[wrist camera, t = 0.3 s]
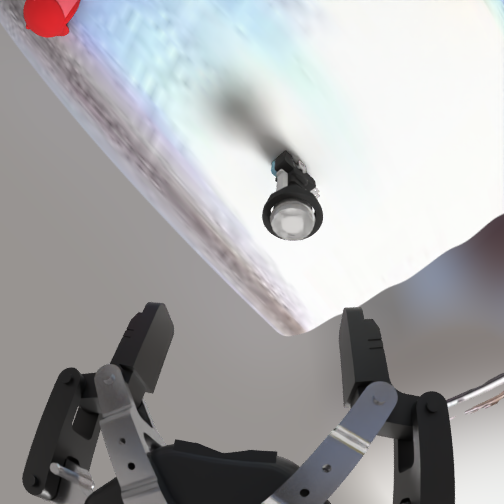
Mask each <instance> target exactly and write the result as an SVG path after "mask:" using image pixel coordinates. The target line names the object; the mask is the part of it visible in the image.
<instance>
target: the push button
mask: <svg viewBox="0 0 504 504" xmlns="http://www.w3.org/2000/svg"><path fill="white" fill-rule="evenodd" d="M298 163H299V166H298V165H297V164H296V163H295V162H294V161H293V160H292V156H291V155H290V154H289V153H288V152H287V151H284V152H283V153H282V154H281V155H280V156H279V157H278V158H276V159H275V160H274V161H273V162H272V168H271V172H272V174H273V175H274V176H276V180H275V181H276V182H277V189H276V192H274V193H273V194H271V195H270V197H269V199H268V201H267V202H266V204H265V206H264V208H263V214H262V218H263V223H264V225H265V227H266V228H267V230H268V231H269V232H270V233H271V234H273V235H274V236H276V237H278V238H281V239H284V240H290V241H296V240H302V239H305V238H308V237H310V236H312V235H313V234H314V233H316V232H317V231H318V229H319V228H320V226H321V224H322V221H323V212H322V208H321V206H320V204H319V202H318V200H317V198H318V197H320V195H319V194H318V193H319V190H318V189H317V188H316V185H315V181H314V179H313V178H312V177H310V176H309V175H308V174H307V173H306V166H305V165H304V164H303V163H302V162H301V161H300V160H298ZM301 164H302V165H303V166H302V165H301ZM315 190H316V191H315ZM316 194H317V195H316ZM314 195H316V196H314ZM273 206H274V208H273V211H272V213H271V211H270V210H271V208H272V207H273ZM312 207H313V208H314V210H315V212H314V213H313V211H312Z"/></svg>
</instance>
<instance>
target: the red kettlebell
mask: <svg viewBox="0 0 504 504" xmlns="http://www.w3.org/2000/svg"><path fill="white" fill-rule="evenodd" d="M79 3H80V0H26V2H25V5H24V19H25V21H26V29H31V30H32V31H33V32H34V33H36V34H37V35H39V36H42V37H54V36H65V35H67V34H68V33H69V29H68V27H67V26H66V24H67V23H68V22H69V21H70V20H71V18H72V17H73V16H74V14H75V12H76V11H77V9H78V7H79Z"/></svg>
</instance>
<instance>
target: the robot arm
mask: <svg viewBox="0 0 504 504" xmlns="http://www.w3.org/2000/svg"><path fill="white" fill-rule="evenodd" d="M173 335H174V326H173V323H172V320H171V318H170V316H169V313H168V311H167V308H166V306H165V304H163V303H153V302H148V303H147V304H146V306H145V308H144V310H143V312H142V313H140V312H139V313H137V314H136V315H135V316H134V317H133V318H132V319H131V321H130V323H129V325H128V327H127V330H126V331H125V333H124V335H123V338H122V339H121V342H120V343H119V345H118V348H117V350H116V352H115V354H114V356H113V358H112V361H111V363H110V364H107V365H104V366H102V367H101V368H100V369H99V370H98V371H97V372H96V373H89V374H81V373H80V372H79V371H78V370H77V369H75V368H67V369H65V370H63V371H62V372H61V373H60V375H59V376H58V379H57V381H56V383H55V385H54V388H53V390H52V392H51V395H50V397H49V400H48V402H47V405H46V407H45V410H44V412H43V415H42V418H41V420H40V423H39V426H38V428H37V431H36V434H35V438H34V440H33V443H32V446H31V449H30V452H29V456H28V459H27V462H26V465H25V469H24V473H23V478H22V479H23V485H24V487H25V489H26V490H27V491H28V492H29V493H30V494H32V495H34V496H37V497H40V498H42V499H44V500H46V501H49V502H52V503H55V504H331V503H330V502H329V501H328V500H327V499H328V498H329V497H330V496H331V495H332V494H333V492H334V491H335V490H336V489H337V488H338V487H339V486H340V484H341V483H342V482H343V481H344V480H345V478H346V477H347V476H348V475H349V473H350V472H351V471H352V470H353V468H354V467H355V466H356V464H357V463H358V462H359V461H360V459H361V458H362V457H363V455H364V454H365V452H366V451H367V449H368V447H369V445H370V444H371V442H372V441H373V439H374V438H375V436H376V435H379V436H384V437H388V438H394V491H393V492H394V493H393V504H455V478H454V460H453V459H454V458H453V446H452V436H451V428H450V420H449V413H448V407H447V402H446V400H445V398H444V397H443V396H442V395H441V394H439V393H437V392H433V391H432V392H431V391H430V392H426V393H424V394H423V395H421V396H420V397H419V396H414V395H409V394H404V393H401V392H399V391H398V390H396V389H395V388H394V387H393V386H392V384H391V382H390V379H389V374H388V369H387V363H386V358H385V353H384V349H383V343H382V340H381V339H382V338H381V334H380V329H379V327H378V326H377V324H376V323H375V322H374V320H373V319H364V316H363V311H362V308H361V307H353V308H344V310H343V315H342V320H341V326H340V331H339V347H340V357H341V370H342V384H343V399H344V408H346V407H351V409H350V411H349V412H348V413H347V415H346V416H345V417H344V418H343V420H342V421H341V422H340V424H339V425H338V426H337V427H336V428H335V429H334V430H333V431H332V432H331V433H330V434H329V435H328V436H327V438H326V439H325V440H324V441H323V442H322V443H321V444H320V446H319V447H318V448H317V449H316V450H315V451H314V453H313V454H312V455H311V456H310V457H309V458H308V459H307V460H306V461H305V462H304V463H303V464H302V466H301V467H299V466H298V465H296V464H295V463H293V462H291V461H290V460H288V459H285V458H283V457H279V456H277V452H273V451H257V450H248V451H241V452H232V453H221V452H218V451H216V450H213V449H211V448H208V447H205V446H203V445H201V444H198V443H192V442H186V441H181V440H175V443H174V444H172V445H166V444H165V442H164V441H163V439H162V437H161V436H160V435H159V433H158V431H157V429H156V427H155V425H154V423H153V420H152V418H151V415H150V413H149V411H148V408H147V405H146V403H145V400H144V398H143V396H144V393H145V392H148V393H153V392H154V389H155V386H156V384H157V381H158V378H159V374H160V372H161V369H162V366H163V363H164V360H165V358H166V355H167V352H168V349H169V346H170V343H171V341H172V338H173ZM78 406H79V408H78V411H77V414H76V417H75V420H74V423H73V425H72V421H73V419H74V415H75V413H76V410H77V407H78ZM100 430H101V431H102V435H103V438H104V441H105V444H106V448H107V450H108V454H109V457H110V460H111V462H112V466H113V468H114V471H115V474H116V476H117V477H115V478H114V479H113V480H111V481H110V482H108V483H106V484H105V485H103V486H102V487H100V488H99V489H97V490H96V491H94V492H93V490H92V488H93V487H94V481H93V480H92V477H91V475H90V473H89V469H90V465H91V461H92V458H93V454H94V450H95V447H96V443H97V440H98V436H99V433H100Z"/></svg>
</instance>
